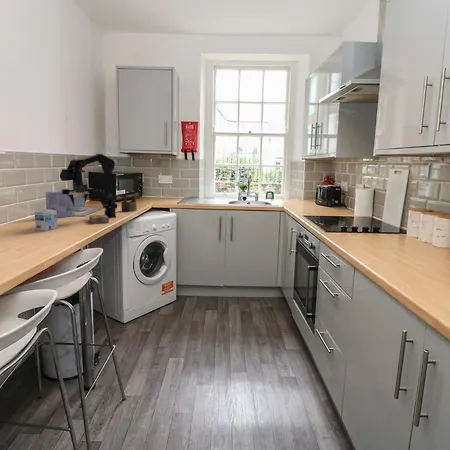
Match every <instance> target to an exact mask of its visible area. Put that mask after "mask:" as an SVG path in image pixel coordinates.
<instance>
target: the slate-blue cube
mask: <svg viewBox="0 0 450 450" xmlns="http://www.w3.org/2000/svg"><path fill="white" fill-rule="evenodd" d="M73 200H74V205H73V207H74V209H75V208H77V209H79V208H86V202H85V198H84V197H83V196H74V197H73Z"/></svg>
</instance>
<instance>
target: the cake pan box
mask: <svg viewBox="0 0 450 450" xmlns="http://www.w3.org/2000/svg"><path fill="white" fill-rule="evenodd" d="M72 194H73V197H75V193H72ZM45 207H46V208H45V210H46V209H49V210H57V219H59V218H66V217H74V216H76V211H75V210H76V209H75V207H73V203H72V201H71V199H70V197H69V195H66V194H62V192H61V190H60V191H45Z"/></svg>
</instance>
